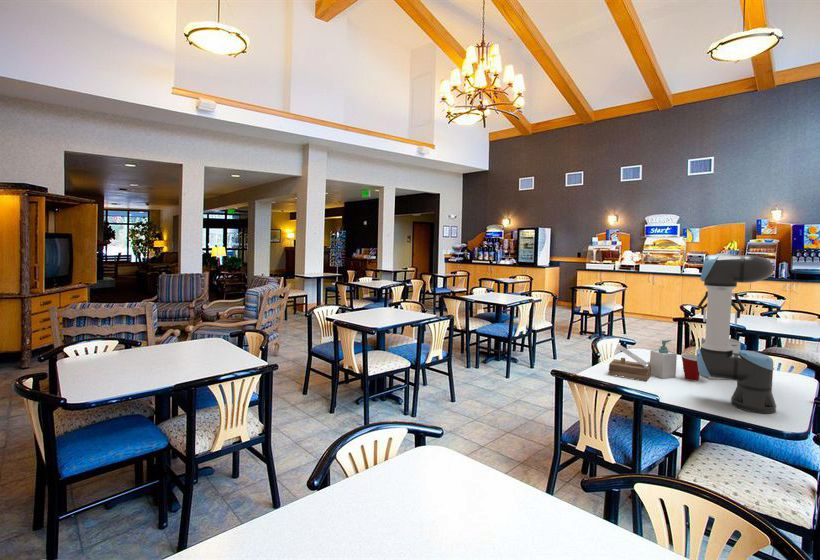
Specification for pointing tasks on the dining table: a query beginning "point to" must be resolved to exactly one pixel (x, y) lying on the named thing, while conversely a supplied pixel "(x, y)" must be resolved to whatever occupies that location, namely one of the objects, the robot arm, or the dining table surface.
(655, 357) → the soap bottle
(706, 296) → the robot arm
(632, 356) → the steel hasp
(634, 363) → the walnut box
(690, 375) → the plastic cup
